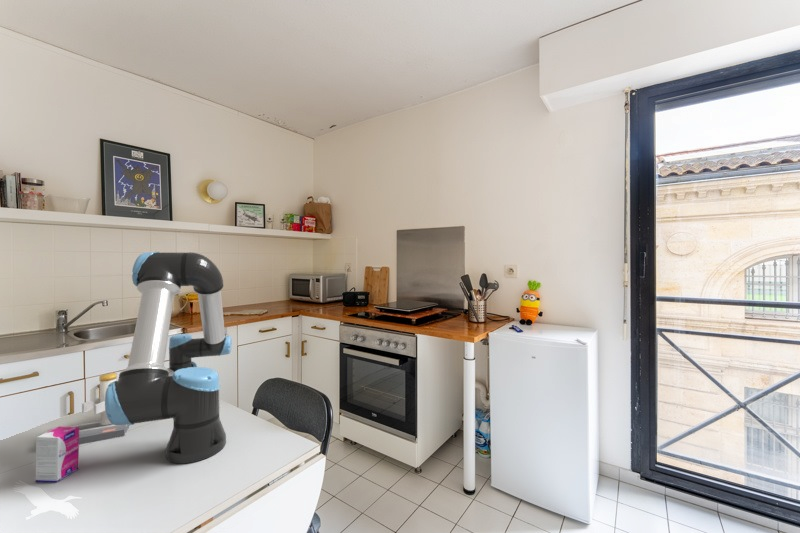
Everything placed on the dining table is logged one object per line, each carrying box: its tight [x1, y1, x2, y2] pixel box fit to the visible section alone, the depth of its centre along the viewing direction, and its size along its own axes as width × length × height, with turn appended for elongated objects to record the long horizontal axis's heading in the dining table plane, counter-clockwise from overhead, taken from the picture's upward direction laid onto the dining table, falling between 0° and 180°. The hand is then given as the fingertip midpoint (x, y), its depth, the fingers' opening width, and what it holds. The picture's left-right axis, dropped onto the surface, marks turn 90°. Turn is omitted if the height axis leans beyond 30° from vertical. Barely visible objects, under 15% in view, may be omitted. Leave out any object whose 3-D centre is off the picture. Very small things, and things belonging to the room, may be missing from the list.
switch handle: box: [99, 372, 118, 427], centre depth 109 cm, size 4×4×16 cm
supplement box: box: [34, 426, 80, 484], centre depth 87 cm, size 6×6×12 cm
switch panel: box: [45, 420, 132, 445], centre depth 107 cm, size 20×10×3 cm, turn 118°
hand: (89, 408), depth 103 cm, fingers closed on switch handle, 4 cm apart
